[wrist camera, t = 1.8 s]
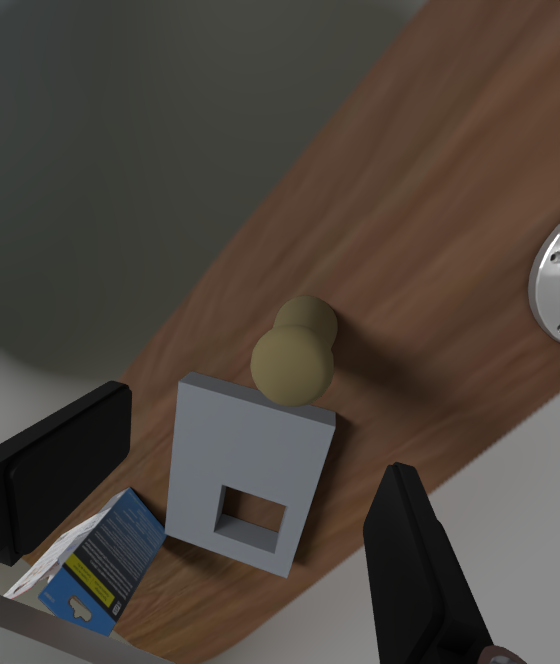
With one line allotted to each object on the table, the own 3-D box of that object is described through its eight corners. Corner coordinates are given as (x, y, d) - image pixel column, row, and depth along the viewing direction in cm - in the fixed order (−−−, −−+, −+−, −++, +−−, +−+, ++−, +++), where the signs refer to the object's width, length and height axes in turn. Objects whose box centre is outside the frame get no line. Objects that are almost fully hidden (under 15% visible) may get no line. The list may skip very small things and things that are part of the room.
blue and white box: (112, 494, 37) (13, 603, 26) (131, 485, 36) (35, 595, 24) (152, 540, 38) (73, 664, 27) (170, 532, 37) (97, 659, 26)
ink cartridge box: (113, 520, 39) (45, 603, 30) (73, 544, 42) (1, 624, 33) (101, 508, 39) (30, 588, 29) (62, 533, 42) (-14, 611, 33)
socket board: (335, 412, 27) (335, 426, 25) (290, 556, 34) (287, 578, 32) (191, 371, 29) (178, 381, 27) (175, 515, 36) (164, 533, 34)
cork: (267, 304, 26) (223, 338, 15) (330, 288, 24) (328, 314, 14) (284, 361, 27) (254, 429, 17) (344, 350, 25) (352, 416, 15)
